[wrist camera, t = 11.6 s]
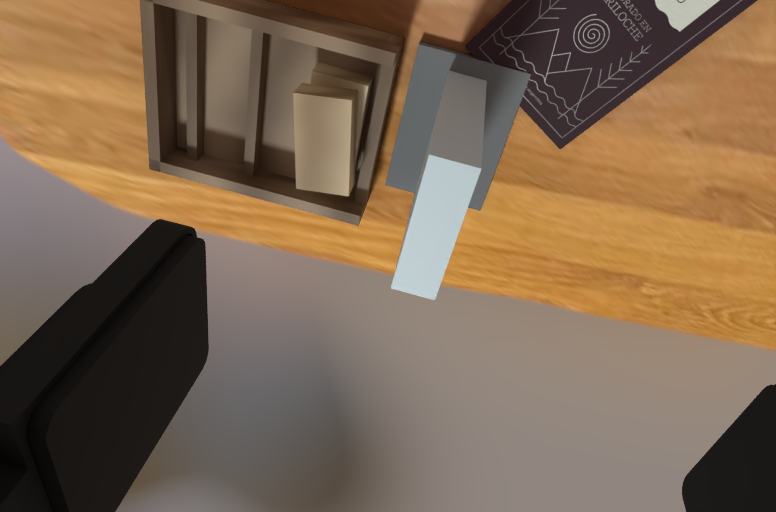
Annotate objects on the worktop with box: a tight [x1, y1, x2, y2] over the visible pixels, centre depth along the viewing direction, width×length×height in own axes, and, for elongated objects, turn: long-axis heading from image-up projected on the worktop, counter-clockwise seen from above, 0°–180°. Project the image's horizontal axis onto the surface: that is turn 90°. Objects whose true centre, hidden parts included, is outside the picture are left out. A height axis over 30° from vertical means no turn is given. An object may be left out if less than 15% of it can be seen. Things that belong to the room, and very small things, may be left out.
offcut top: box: [293, 83, 358, 196], centre depth 35 cm, size 4×6×2 cm, turn 176°
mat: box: [385, 42, 531, 211], centre depth 37 cm, size 7×10×1 cm
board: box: [391, 71, 487, 300], centre depth 32 cm, size 2×8×12 cm, turn 167°
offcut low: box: [310, 62, 374, 170], centre depth 36 cm, size 4×7×2 cm, turn 167°
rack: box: [140, 0, 404, 226], centre depth 36 cm, size 15×12×4 cm
